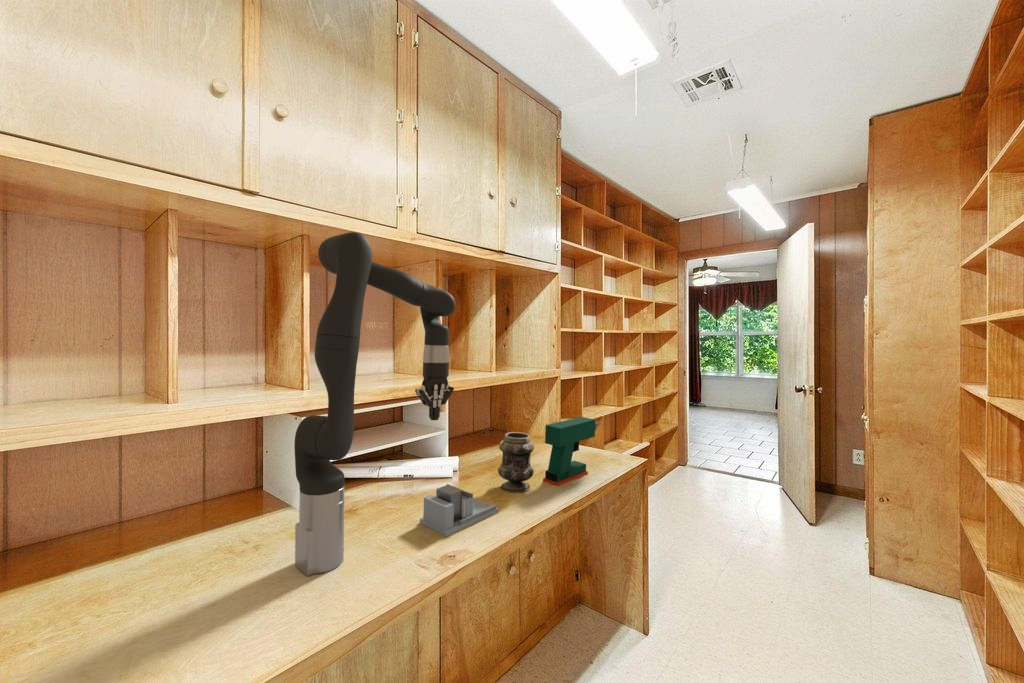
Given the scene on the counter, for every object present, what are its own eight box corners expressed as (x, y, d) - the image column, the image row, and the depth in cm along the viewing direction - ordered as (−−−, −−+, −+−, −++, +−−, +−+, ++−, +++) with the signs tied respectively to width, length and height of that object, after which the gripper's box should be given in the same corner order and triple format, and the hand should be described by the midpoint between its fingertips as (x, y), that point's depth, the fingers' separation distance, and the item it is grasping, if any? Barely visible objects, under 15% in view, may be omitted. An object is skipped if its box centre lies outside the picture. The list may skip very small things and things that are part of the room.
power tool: (592, 461, 174) (594, 413, 173) (607, 466, 169) (609, 416, 168) (541, 480, 151) (543, 425, 150) (557, 486, 146) (559, 428, 145)
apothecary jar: (539, 485, 146) (540, 433, 145) (522, 497, 136) (524, 441, 135) (509, 478, 152) (510, 428, 151) (490, 489, 142) (492, 435, 141)
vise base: (446, 536, 109) (447, 509, 109) (419, 523, 116) (420, 497, 116) (498, 511, 125) (499, 487, 124) (472, 501, 132) (472, 478, 132)
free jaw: (466, 521, 115) (467, 495, 115) (442, 510, 122) (442, 485, 122) (474, 518, 118) (474, 492, 117) (450, 507, 124) (450, 483, 124)
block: (450, 524, 114) (451, 494, 113) (435, 517, 118) (436, 488, 117) (461, 519, 117) (462, 490, 116) (446, 512, 121) (447, 484, 120)
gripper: (445, 359, 132) (443, 415, 132) (409, 360, 122) (407, 420, 122) (461, 361, 127) (459, 419, 127) (425, 362, 117) (423, 425, 117)
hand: (434, 419), depth 124 cm, fingers closed
